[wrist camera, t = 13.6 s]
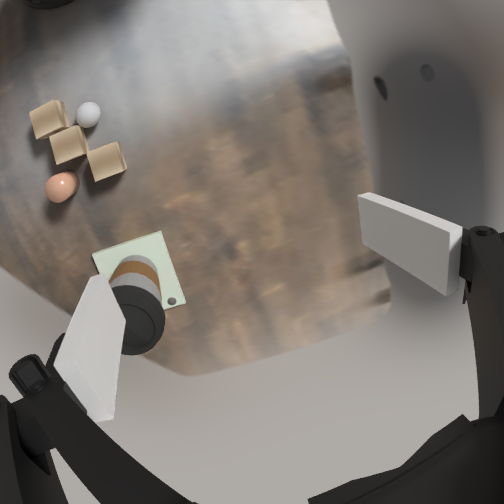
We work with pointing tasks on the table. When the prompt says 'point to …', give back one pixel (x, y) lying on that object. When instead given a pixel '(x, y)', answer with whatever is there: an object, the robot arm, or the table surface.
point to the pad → (154, 251)
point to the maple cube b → (69, 144)
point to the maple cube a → (49, 119)
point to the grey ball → (88, 115)
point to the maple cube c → (106, 161)
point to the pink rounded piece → (62, 186)
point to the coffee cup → (138, 303)
